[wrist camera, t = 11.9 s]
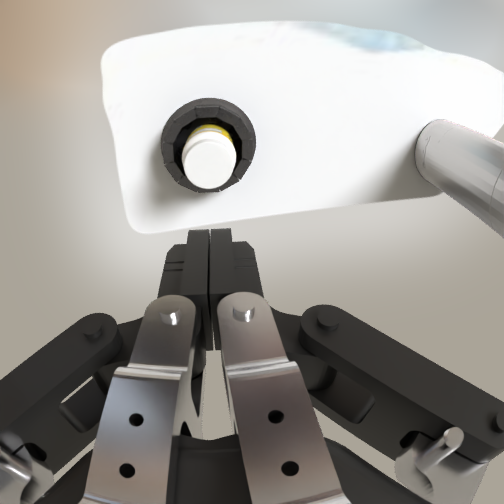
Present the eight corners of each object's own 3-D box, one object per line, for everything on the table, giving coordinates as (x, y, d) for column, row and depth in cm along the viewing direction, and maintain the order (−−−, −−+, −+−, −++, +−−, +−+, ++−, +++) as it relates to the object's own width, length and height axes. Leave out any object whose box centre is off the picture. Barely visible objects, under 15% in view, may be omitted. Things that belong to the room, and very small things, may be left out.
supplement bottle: (231, 165, 32) (236, 194, 25) (187, 165, 31) (179, 194, 24) (233, 122, 29) (240, 137, 22) (187, 121, 28) (178, 137, 21)
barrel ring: (256, 97, 28) (261, 99, 25) (254, 185, 34) (258, 197, 31) (159, 101, 27) (153, 103, 24) (165, 189, 32) (160, 201, 30)
